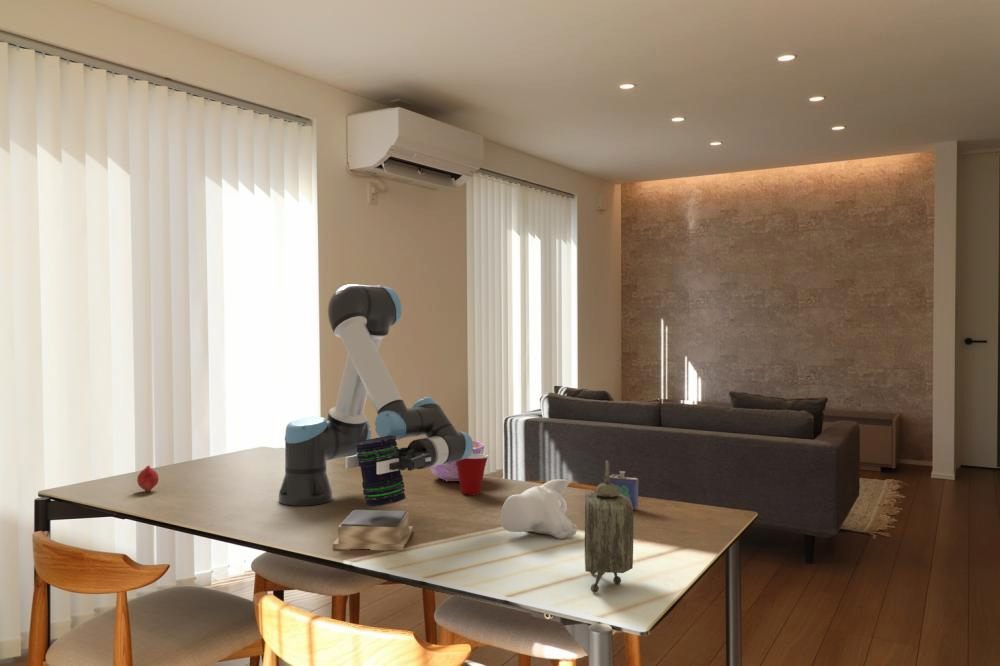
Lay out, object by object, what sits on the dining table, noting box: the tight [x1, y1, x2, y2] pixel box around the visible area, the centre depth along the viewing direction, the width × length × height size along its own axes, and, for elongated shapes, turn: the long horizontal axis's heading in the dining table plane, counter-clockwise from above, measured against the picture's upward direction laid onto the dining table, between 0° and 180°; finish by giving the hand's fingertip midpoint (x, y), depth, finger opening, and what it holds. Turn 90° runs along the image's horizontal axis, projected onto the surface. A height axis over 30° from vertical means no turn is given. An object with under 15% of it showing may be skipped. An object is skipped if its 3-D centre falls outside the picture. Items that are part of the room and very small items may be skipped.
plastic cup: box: [456, 453, 489, 496], centre depth 230 cm, size 11×11×12 cm
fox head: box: [499, 479, 578, 540], centre depth 187 cm, size 13×17×20 cm
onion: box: [136, 464, 159, 492], centre depth 227 cm, size 6×6×8 cm
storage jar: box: [356, 436, 407, 508], centre depth 181 cm, size 10×10×15 cm
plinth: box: [332, 509, 414, 551], centre depth 181 cm, size 16×16×5 cm
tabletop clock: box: [584, 459, 635, 594], centre depth 152 cm, size 14×9×25 cm, turn 175°
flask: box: [609, 470, 639, 511], centre depth 213 cm, size 9×3×11 cm, turn 68°
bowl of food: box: [428, 440, 486, 482], centre depth 249 cm, size 20×20×12 cm
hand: (361, 465), depth 177 cm, fingers closed on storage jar, 10 cm apart
